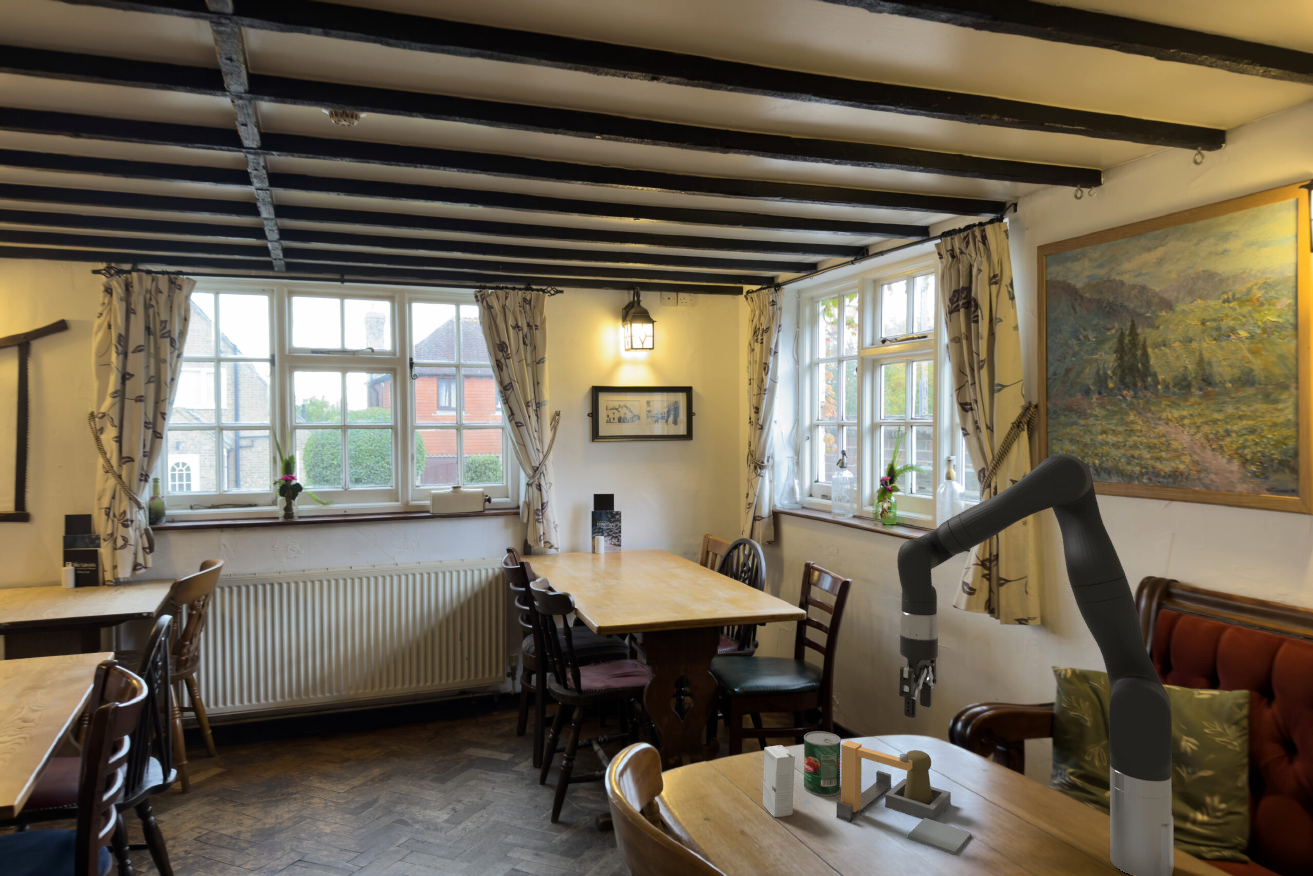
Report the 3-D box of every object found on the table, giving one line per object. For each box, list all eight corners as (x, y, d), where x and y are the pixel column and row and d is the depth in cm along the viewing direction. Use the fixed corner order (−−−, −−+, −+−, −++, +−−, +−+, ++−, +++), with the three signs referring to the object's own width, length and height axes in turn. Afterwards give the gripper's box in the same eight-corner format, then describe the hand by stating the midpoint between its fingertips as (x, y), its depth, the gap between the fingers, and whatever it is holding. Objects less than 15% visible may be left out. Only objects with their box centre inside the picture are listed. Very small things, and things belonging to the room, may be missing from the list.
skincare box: (761, 804, 156) (762, 746, 157) (781, 802, 158) (781, 744, 158) (775, 818, 151) (775, 758, 151) (795, 815, 152) (795, 755, 152)
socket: (950, 804, 157) (950, 792, 157) (933, 822, 150) (933, 809, 150) (904, 790, 164) (904, 778, 164) (885, 806, 156) (885, 794, 156)
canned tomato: (796, 786, 165) (796, 736, 165) (819, 777, 170) (819, 728, 170) (824, 800, 159) (824, 747, 159) (848, 790, 164) (848, 739, 164)
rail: (891, 788, 164) (891, 774, 165) (850, 822, 149) (850, 807, 149) (878, 784, 166) (878, 770, 166) (836, 817, 151) (836, 802, 151)
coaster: (971, 835, 144) (971, 832, 144) (955, 855, 137) (955, 851, 137) (924, 820, 150) (924, 817, 150) (907, 838, 143) (907, 835, 143)
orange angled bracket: (913, 824, 146) (913, 755, 146) (907, 830, 144) (907, 759, 144) (847, 802, 155) (847, 737, 155) (841, 807, 153) (841, 741, 153)
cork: (935, 813, 153) (935, 759, 153) (904, 810, 154) (904, 757, 154) (930, 800, 159) (931, 748, 159) (901, 797, 160) (901, 745, 160)
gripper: (923, 643, 149) (923, 725, 149) (948, 630, 160) (948, 706, 160) (887, 636, 154) (886, 716, 154) (914, 624, 165) (913, 698, 165)
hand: (918, 711), depth 157 cm, fingers open, 8 cm apart
